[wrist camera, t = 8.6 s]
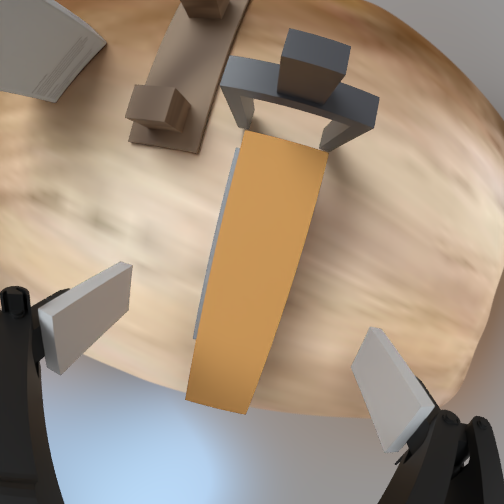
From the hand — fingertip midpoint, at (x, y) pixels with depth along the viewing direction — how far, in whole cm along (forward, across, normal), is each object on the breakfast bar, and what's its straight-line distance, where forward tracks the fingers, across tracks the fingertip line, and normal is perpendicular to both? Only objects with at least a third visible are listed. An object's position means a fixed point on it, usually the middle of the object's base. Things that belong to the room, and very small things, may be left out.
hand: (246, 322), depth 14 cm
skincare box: (+8, -24, +16) cm, 30 cm away
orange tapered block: (+4, 0, +1) cm, 4 cm away
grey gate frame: (+8, 0, +11) cm, 14 cm away
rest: (+8, -10, +16) cm, 20 cm away
